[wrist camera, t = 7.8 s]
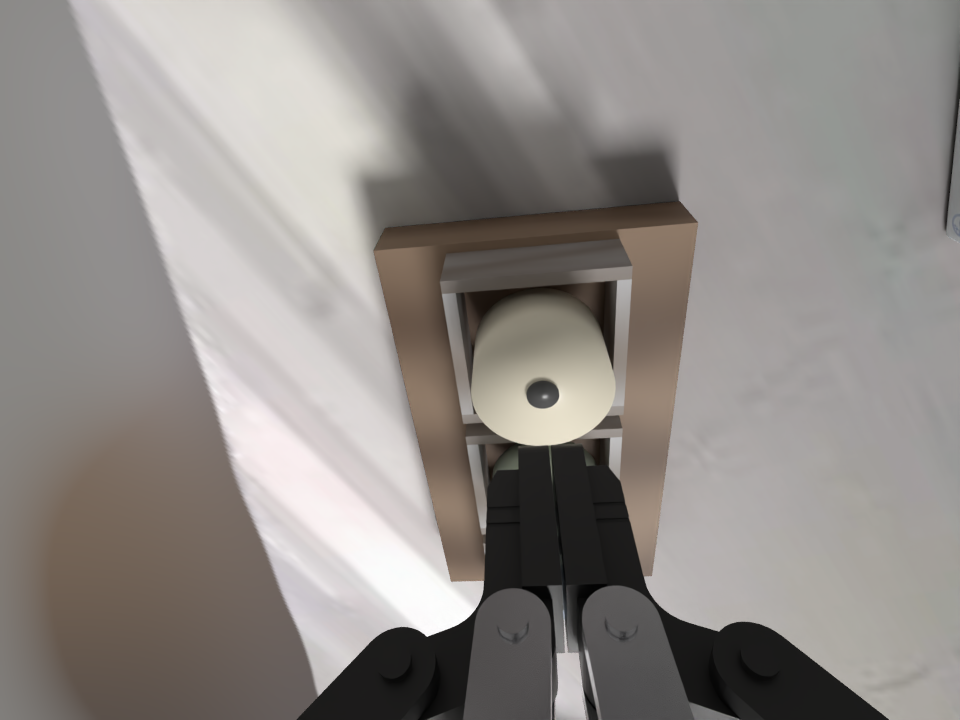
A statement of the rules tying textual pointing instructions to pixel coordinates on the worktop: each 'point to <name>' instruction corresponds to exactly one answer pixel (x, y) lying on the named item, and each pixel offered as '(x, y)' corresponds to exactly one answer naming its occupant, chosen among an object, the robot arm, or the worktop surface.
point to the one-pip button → (541, 368)
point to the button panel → (526, 265)
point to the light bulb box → (955, 191)
